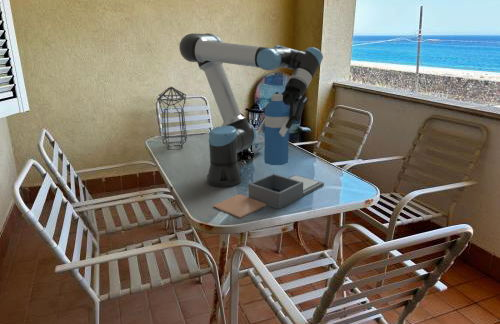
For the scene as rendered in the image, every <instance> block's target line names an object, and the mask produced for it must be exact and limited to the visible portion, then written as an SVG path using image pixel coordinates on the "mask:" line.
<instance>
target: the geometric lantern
mask: <svg viewBox="0 0 500 324" xmlns="http://www.w3.org/2000/svg"><path fill="white" fill-rule="evenodd" d="M168 91H169V93H168ZM166 93H168V94H166ZM158 96H159V97H157V98H156V100H157V102H158V104H159V107H160V110H161V116H162V118H161V119H162V120H161V121H162V122H161V123H162V135H161V136H162V141H161V142H162V144H163V145H165V146H166V147H167V149H168V148H170V149H171V146H169V144H170V145H175V142H173V141H170V136H169V132H167V131H169V107H170V106H173V107H174V108H173V110H176V112H175V114H178V116H179V117H178V118H179V128H180V129H179V131H180V135H177V136H175V135H174V136H171V138H180V140H179V141H176V143H178V144H176V147H181V148H182V147H183V146H184V145H185V143H187V141H188V140H187V138H188V135H187V127H186V126H187V125H186V120H185V110H184V107H185V104H186V99H187V94H186V93H184V92H182V91H180V90H179V89H176V88H175V87H173V86H169V87H168V88H166V89H165V90H164V91H162V92H161V93H160V94H158ZM163 97H164V99H163ZM174 97H175V99H174ZM182 101H183V106H182V105H181V104H180V102H182ZM174 102H175V103H174ZM171 103H172V104H171ZM161 104H162V105H163V108H164V109H162V105H161ZM164 104H165V105H167V107H165V105H164ZM177 104H178V105H179V106H180V108H179V107H176V105H177ZM179 110H180V111H179ZM166 123H167V125H166ZM183 138H184V139H183ZM180 144H181V145H180ZM183 148H184V147H183Z"/></svg>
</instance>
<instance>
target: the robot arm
mask: <svg viewBox="0 0 500 324" xmlns="http://www.w3.org/2000/svg"><path fill="white" fill-rule="evenodd" d="M178 47H179V52H180V55H181V56H182V58H183V59H184V60H186V61H188V62H190V63H196V64H197V65H198V68H199V70H202V71H203V72H204V74H205V77H206V79H207V82H208V85H209V87H210V90H211V92H212V95H213V98H214V100H215V103H216V106H217V108H218V111H219V113H220V116H221V118H222V120H223V122H222V125H221V126H216V127H214V128H212V129H210V131H209V133H208V143H209V145H208V146H209V161H210V165H209V170H208V173H207V175H206V182H207V184H208V185H209V186H213V187H216V188H228V187H234V186H237V185H239V184H241V183H242V182H243V181H242V173H241V170H240V167H239V165H238V164H239V163H238V154H239V153H240V152H242V151H245V150H244V149H247V148H249V147H250V146H251V145H252V144H253V143H254V142H255V139H256V136H257V132H256V129H255V126H254V125H253V124H252V123H250V122H248V120H247V118H246V116H244V115H242V114H241V111H240V108H239V105H238V102H237V100H236V97H235V95H234V93H233V89H232V86H231V84H230V81H229V79H228V77H227V73H226V71H225V68H224V65H223V63H224V64H229V65H238V66H245V67H251V68H253V67H254V68H259V69H262V70H263V71H264V70H265V71H274V70H279V69H280V70H281V69H289V70H293V72H292V74H291V75H290V77H289V80H288V81H287V82H286V84H285V87H284V90H283V92H281V93H279V92H278V91H276V92H275V93H274V94H282V95H283V102H284V103H285V105H286V106H287V105H288V106H289V118H286V120H285V122H284V124H283V126H282V128H281V129H280V131H279V133H280V135H281V136H282V137H284V136H285V134H286V132H287V130H288V129H289V130H290V129H291V127H292V126H293V124H294V122H296V121H297V122H300V121H301V119H302V115H303V111H304V109H305V105H306V104H307V102H308V101H309V100H308V98H307V96H306V95H305V93H306V91H307V89H308V88H309V85H310V84H311V82H312V80H313V79H314V78H313V77H314V76H315V75H316V73H317V71H318V69H319V68H320V67H321V66H320V65H321V63H322V61H323V58H324V56H323V53H322V51H321V50H320V49H319V48H316V47H313V46H311V47H308V48H306V49H305V50H304V51H301V50H297V49H293V48H291V47H286V46H285V45H279V44H277V45H274V47H267V46H266V47H264V46H256V45H247V44H246V45H245V44H238V43H230V42H223V41H222V39H221V38H220V37H219V36H217V35H215V34H212V33H207V32H206V33H189V34H186V35H185V36H183V37H182V38H181V39H180V42H179V46H178ZM269 103H270V101H269V102H268V103H267V105H265V107H264V108H263V110H262V111H261V112H262V114H263V115H264V116H263V118H262V119H261V123H260V125H259V127H258V129H259V131H260V132H261V133H264V134H265V108H266V107H267V106H268V104H269Z"/></svg>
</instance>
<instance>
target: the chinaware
mask: <svg viewBox="0 0 500 324" xmlns="http://www.w3.org/2000/svg"><path fill="white" fill-rule="evenodd" d="M263 147H265V136H262V135H256V139H255V142H254V143H253V144H252V151H253V152H254V154H253V155H256V154H259V152H260V151H261V150H262V149H263Z"/></svg>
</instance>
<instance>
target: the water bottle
mask: <svg viewBox="0 0 500 324" xmlns="http://www.w3.org/2000/svg"><path fill="white" fill-rule="evenodd" d="M269 102H270V103H269ZM269 102H268V103H269V104H268V103H267V104H268V106H267V105H266V106H267V107H266V106H265V107H266V108H265V107H264V108H265V114H264V116H265V131H264V137H265V144H264V158H263V159H264V164H265V165H266V164H267V165H270V166H283V165H286V164H288V163H289V143H290V142H289V140H290V139H289V138H290V137H289V136H290V129H288V130H287V132H286V134H285V136H284V137H282V136H281V135H280V133H279V131H280V129H281V128H282V126H283V124H284V122H285V120H286V118H289V116H290V108H288V106H287V105H285V103H284V102H283V95H282V94H281V93H279V94H275V93H272V94H271V99H270V101H269ZM289 119H290V118H289Z"/></svg>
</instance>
